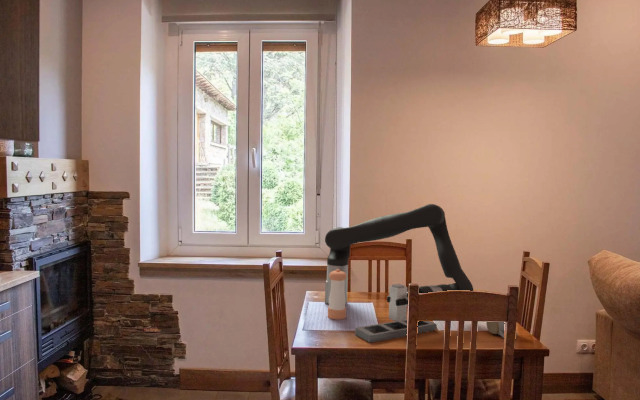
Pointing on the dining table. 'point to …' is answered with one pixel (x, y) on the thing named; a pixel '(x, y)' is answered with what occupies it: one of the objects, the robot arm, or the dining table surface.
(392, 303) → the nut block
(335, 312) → the pepper mill
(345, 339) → the dining table surface
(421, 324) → the grey compartment tray
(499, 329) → the ceramic mug
